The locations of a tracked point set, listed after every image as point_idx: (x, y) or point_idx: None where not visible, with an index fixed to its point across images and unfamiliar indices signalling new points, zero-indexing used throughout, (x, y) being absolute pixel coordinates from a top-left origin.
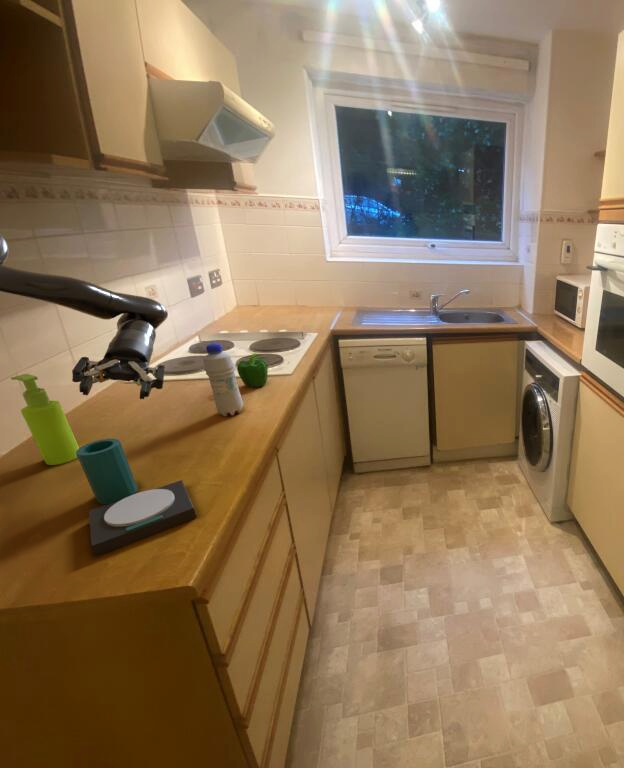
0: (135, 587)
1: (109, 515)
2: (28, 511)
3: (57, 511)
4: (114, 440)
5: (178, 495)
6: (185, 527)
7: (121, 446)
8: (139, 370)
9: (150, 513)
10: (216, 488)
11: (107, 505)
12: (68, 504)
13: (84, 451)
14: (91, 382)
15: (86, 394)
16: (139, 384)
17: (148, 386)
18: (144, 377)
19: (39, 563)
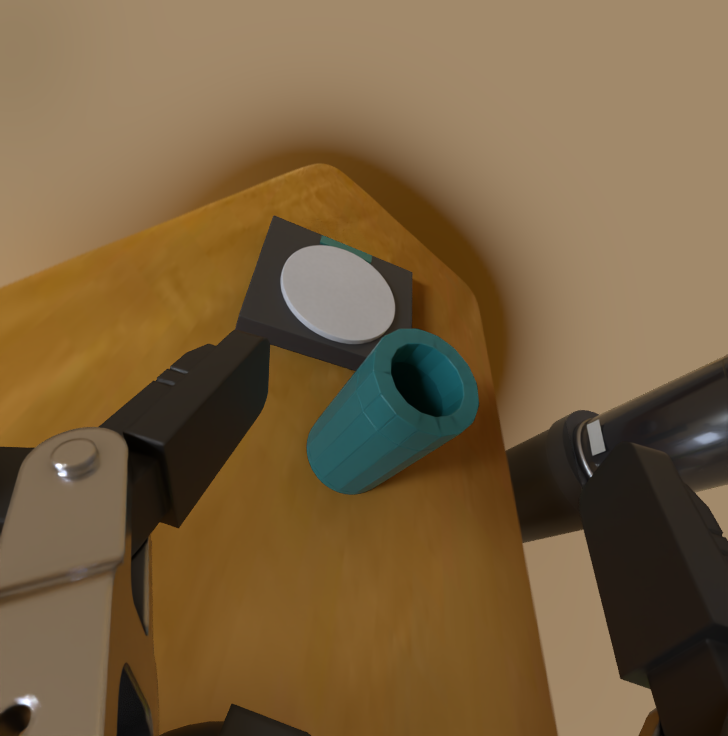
0: (374, 202)
1: (387, 308)
2: (497, 549)
3: (450, 489)
4: (385, 380)
5: (274, 268)
6: None
7: (365, 363)
8: (31, 700)
9: (335, 253)
10: (186, 273)
11: None
12: (434, 504)
13: (457, 400)
14: (651, 596)
15: (590, 487)
16: (153, 652)
17: (158, 396)
18: (97, 505)
19: (459, 339)
